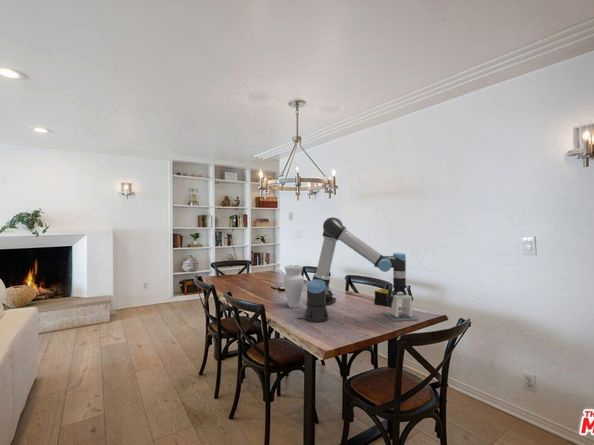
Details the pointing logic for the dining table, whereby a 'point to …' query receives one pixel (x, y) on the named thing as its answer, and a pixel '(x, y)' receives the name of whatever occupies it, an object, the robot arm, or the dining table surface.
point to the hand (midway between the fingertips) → (399, 312)
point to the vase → (293, 284)
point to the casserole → (329, 297)
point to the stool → (405, 304)
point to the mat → (400, 317)
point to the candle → (381, 297)
